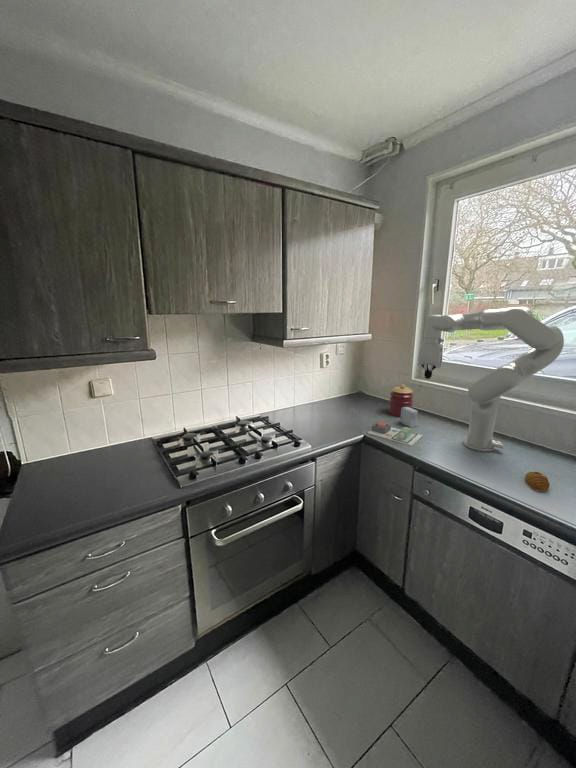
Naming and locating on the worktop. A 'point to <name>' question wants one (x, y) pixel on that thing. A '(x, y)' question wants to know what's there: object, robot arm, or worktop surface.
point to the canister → (400, 399)
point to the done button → (381, 424)
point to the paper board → (393, 434)
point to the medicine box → (409, 416)
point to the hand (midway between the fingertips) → (427, 378)
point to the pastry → (537, 481)
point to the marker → (404, 433)
